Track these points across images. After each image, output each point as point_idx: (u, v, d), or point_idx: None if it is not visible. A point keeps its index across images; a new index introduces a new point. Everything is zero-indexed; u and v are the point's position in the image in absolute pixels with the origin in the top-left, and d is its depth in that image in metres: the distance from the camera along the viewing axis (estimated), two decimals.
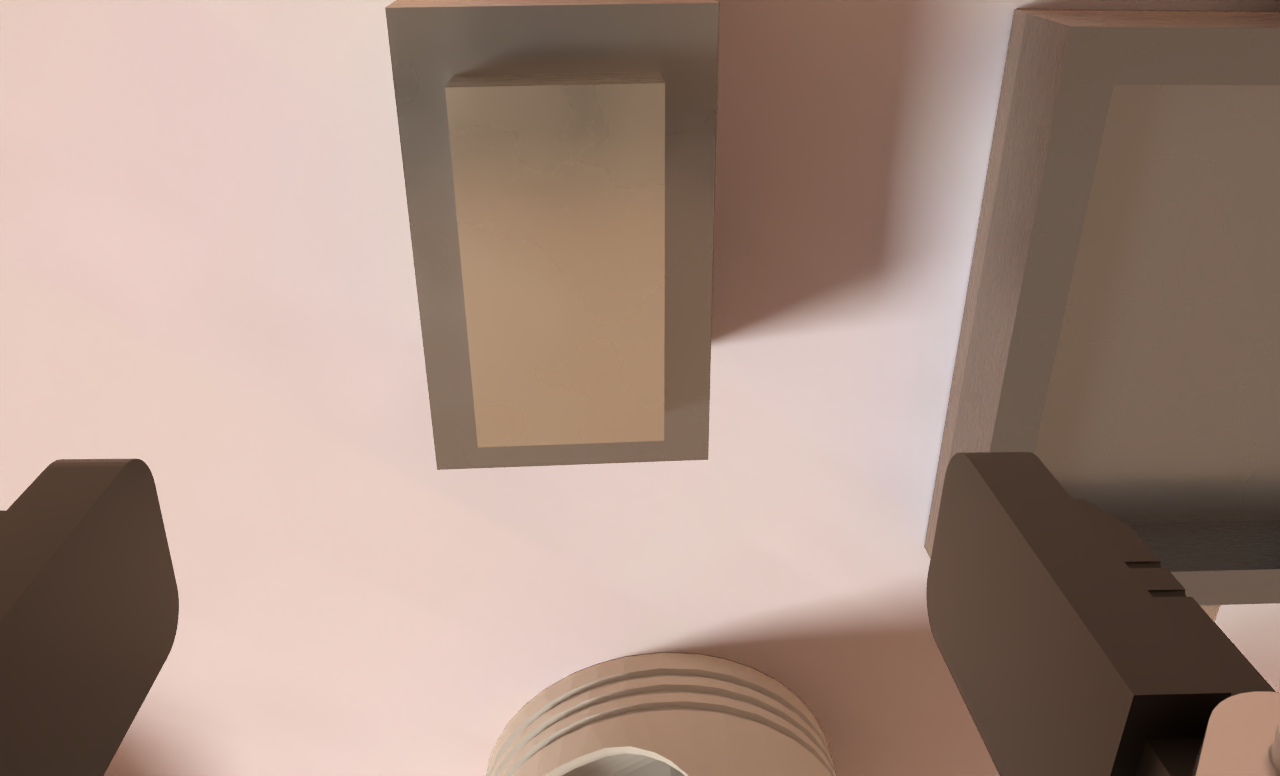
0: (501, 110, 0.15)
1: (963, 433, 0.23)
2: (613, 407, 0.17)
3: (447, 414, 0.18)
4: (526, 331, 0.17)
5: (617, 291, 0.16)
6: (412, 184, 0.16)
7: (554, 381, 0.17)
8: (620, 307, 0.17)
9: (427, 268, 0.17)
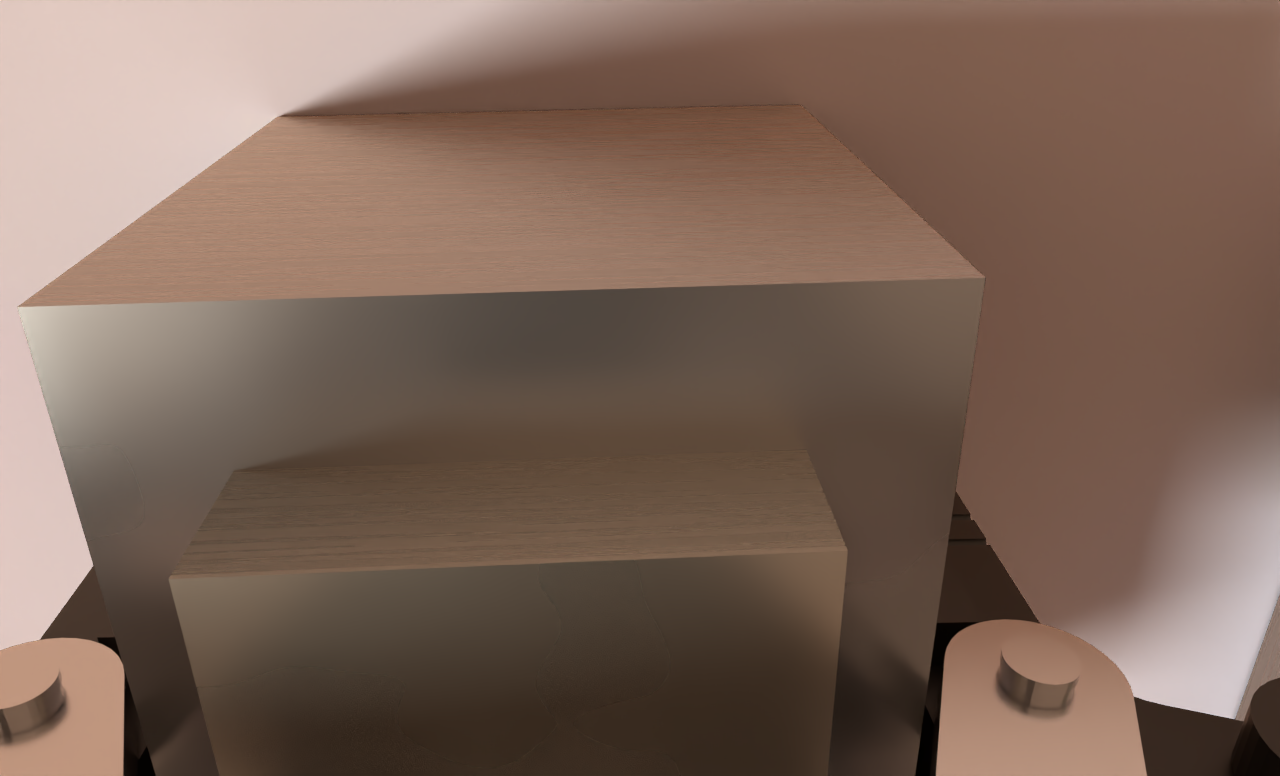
0: (350, 630, 0.05)
1: None
2: None
3: None
4: None
5: None
6: (154, 710, 0.06)
7: None
8: None
9: None
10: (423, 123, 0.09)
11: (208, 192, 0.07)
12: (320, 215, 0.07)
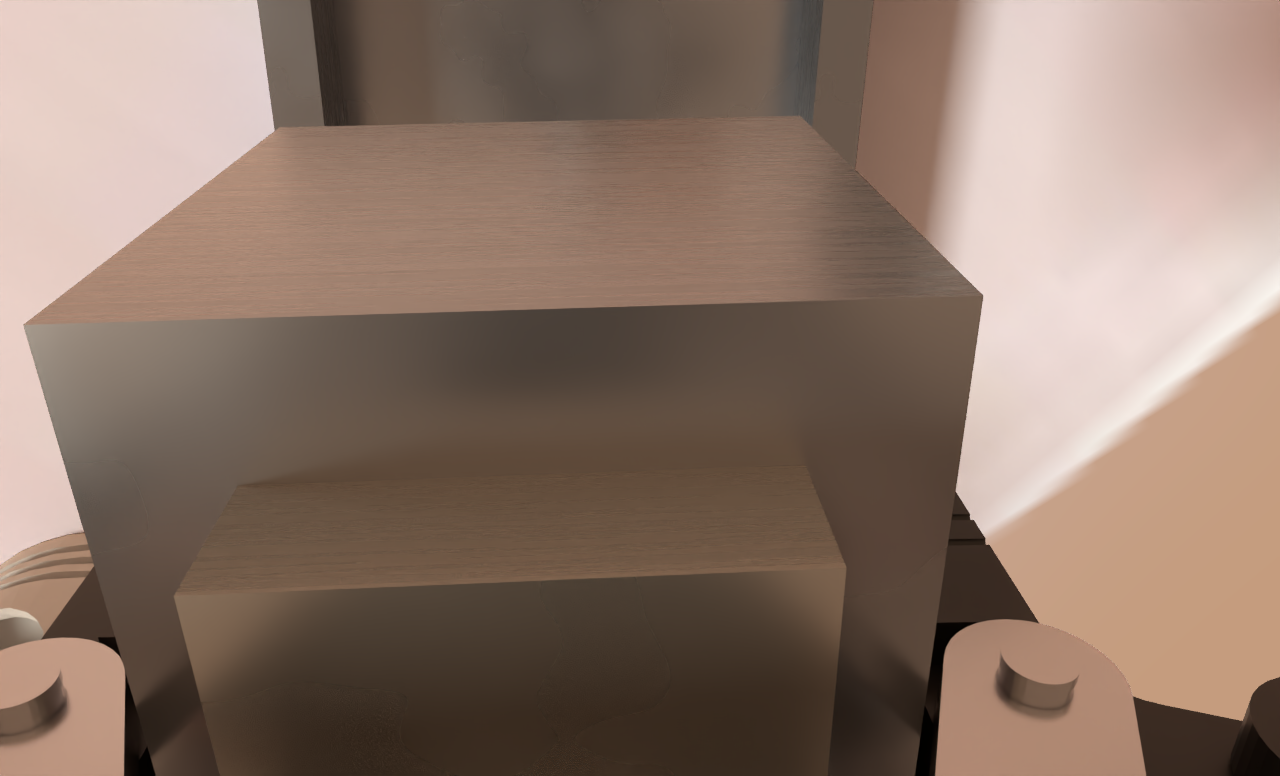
0: (353, 645, 0.05)
1: None
2: None
3: None
4: None
5: None
6: (157, 722, 0.06)
7: None
8: None
9: None
10: (424, 134, 0.09)
11: (211, 206, 0.07)
12: (324, 232, 0.07)
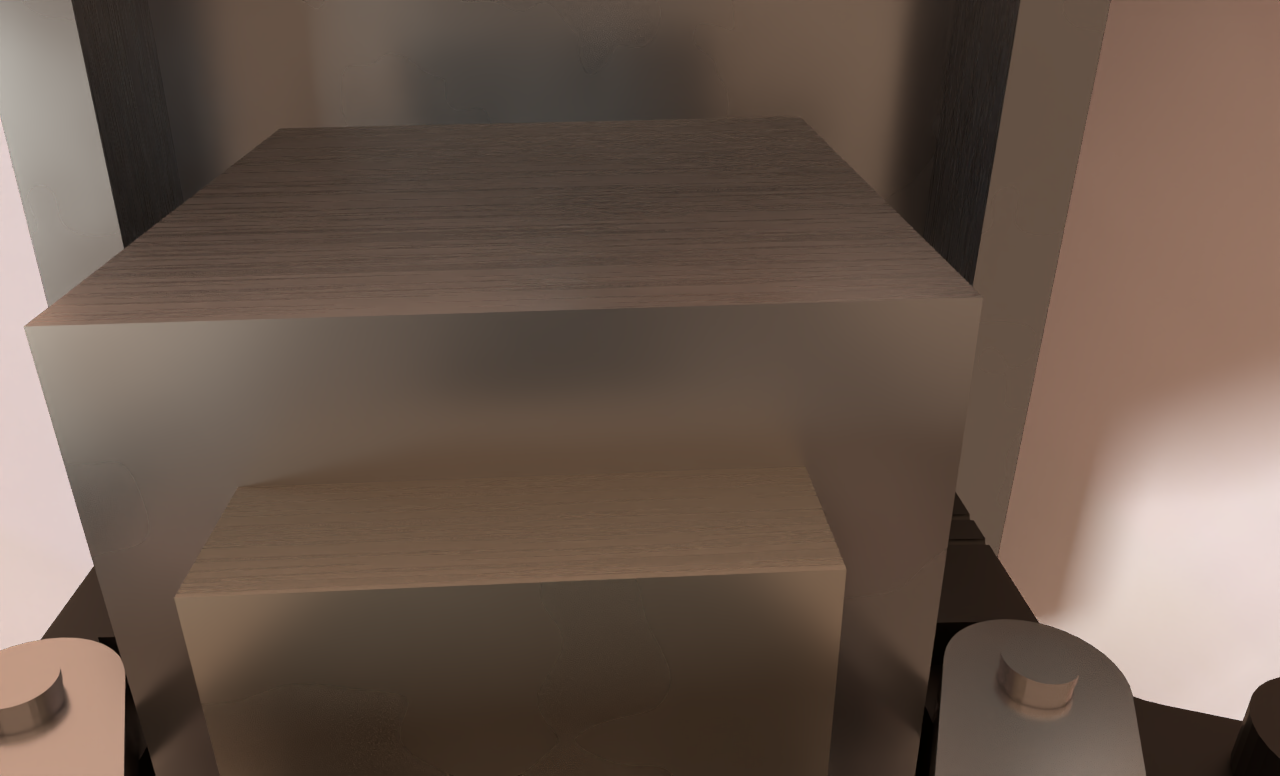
0: (353, 647, 0.05)
1: None
2: None
3: None
4: None
5: None
6: (158, 723, 0.06)
7: None
8: None
9: None
10: (425, 135, 0.09)
11: (212, 207, 0.07)
12: (324, 232, 0.07)
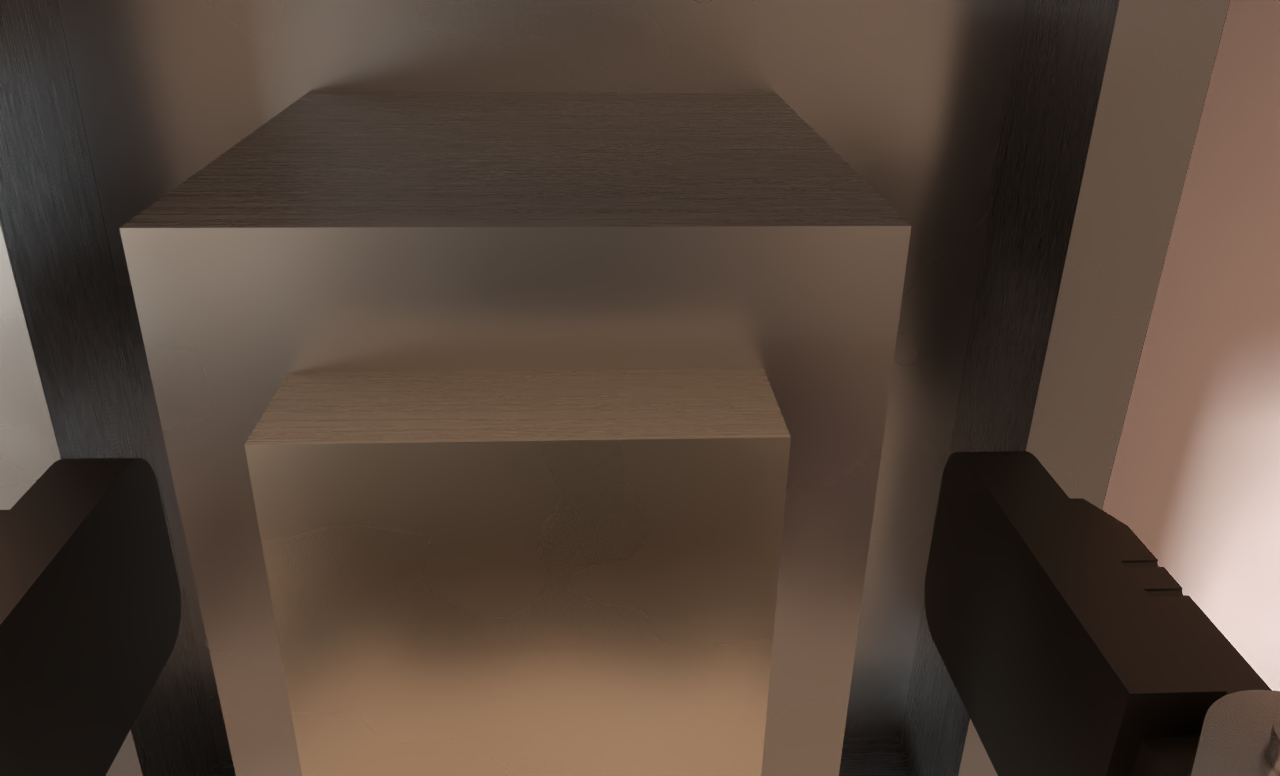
0: (388, 493, 0.06)
1: None
2: None
3: None
4: None
5: None
6: (210, 582, 0.07)
7: None
8: None
9: (252, 727, 0.08)
10: (440, 99, 0.10)
11: (259, 149, 0.08)
12: (359, 170, 0.08)
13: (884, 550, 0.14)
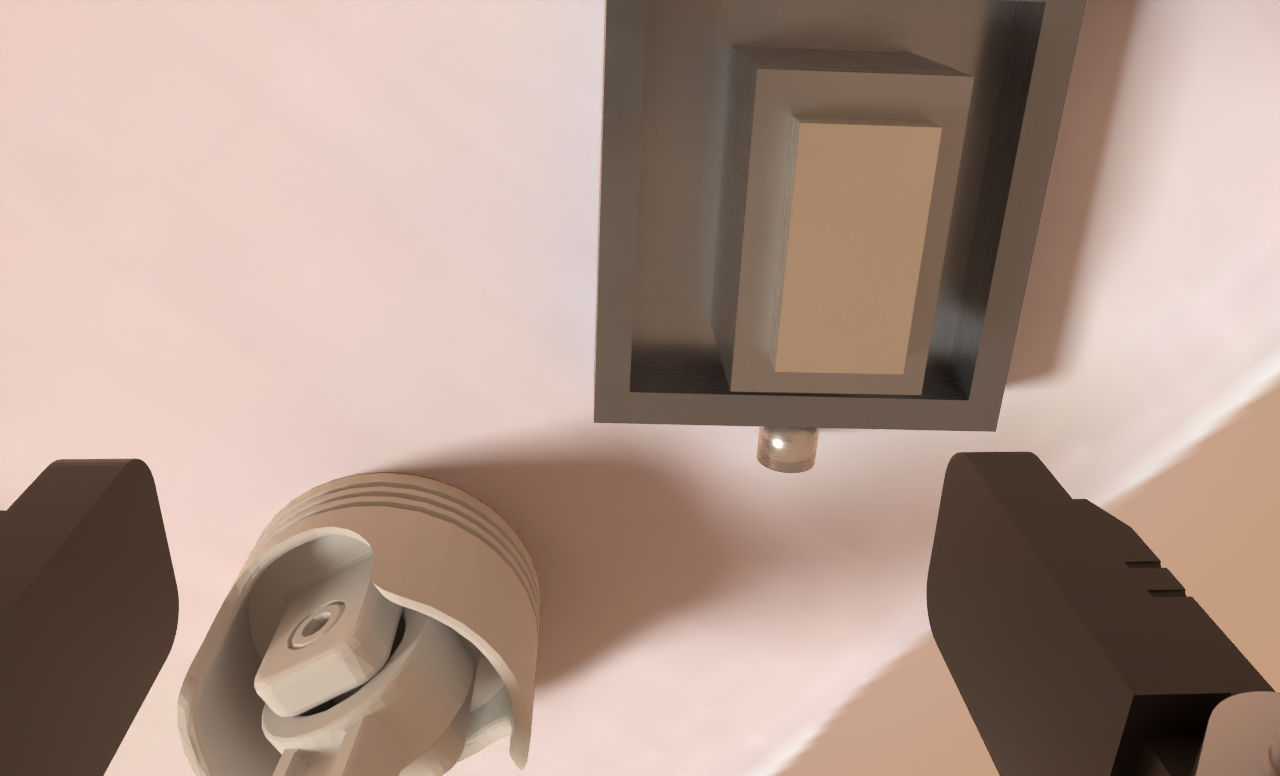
0: (833, 139, 0.23)
1: None
2: (872, 348, 0.25)
3: (744, 351, 0.26)
4: (823, 290, 0.24)
5: (888, 265, 0.24)
6: (752, 186, 0.24)
7: (835, 327, 0.25)
8: (889, 277, 0.24)
9: (751, 245, 0.25)
10: (786, 49, 0.27)
11: (753, 58, 0.25)
12: (797, 62, 0.25)
13: (945, 266, 0.30)
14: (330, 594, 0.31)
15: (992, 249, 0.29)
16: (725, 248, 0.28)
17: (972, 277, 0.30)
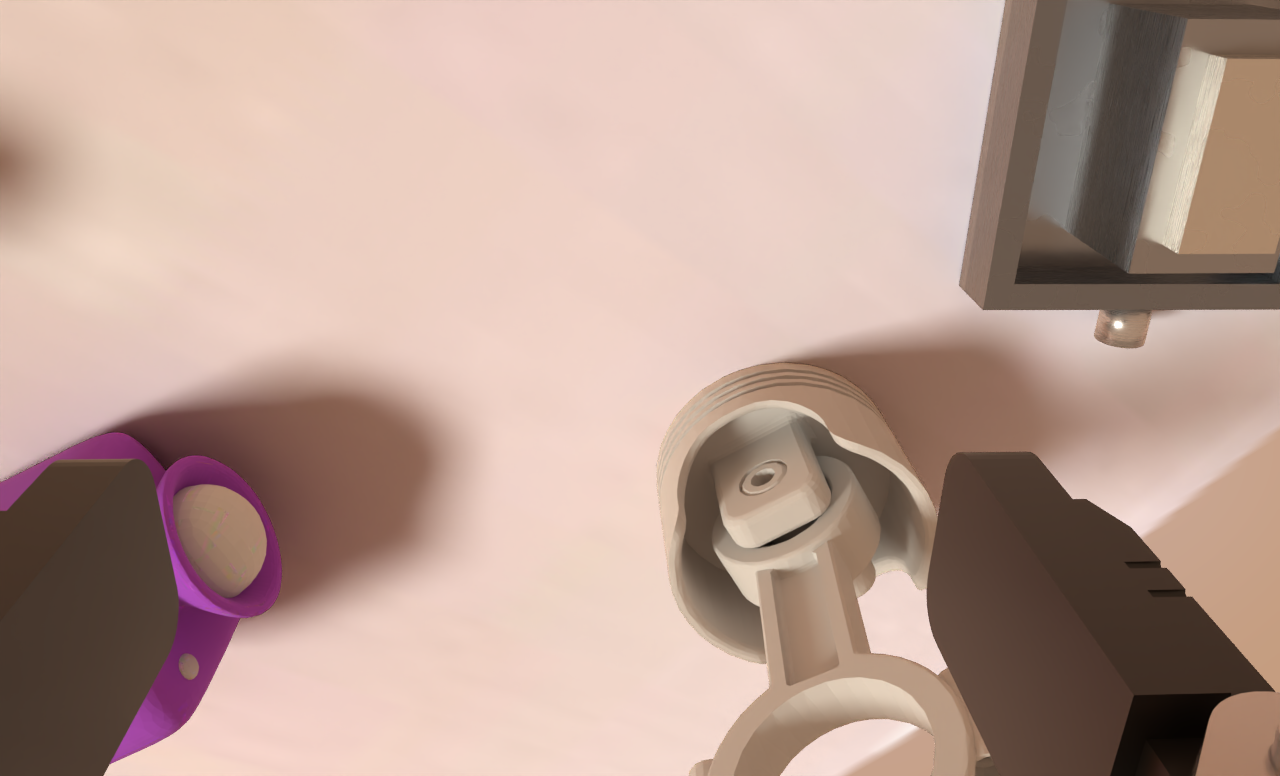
0: (1250, 70, 0.30)
1: (986, 193, 0.37)
2: (1254, 233, 0.33)
3: (1144, 240, 0.33)
4: (1224, 188, 0.32)
5: (1276, 167, 0.32)
6: (1170, 110, 0.32)
7: (1229, 217, 0.32)
8: (1275, 177, 0.32)
9: (1162, 156, 0.32)
10: (1157, 5, 0.35)
11: (1157, 11, 0.33)
12: (1198, 14, 0.32)
13: None
14: (759, 457, 0.39)
15: None
16: (1106, 164, 0.35)
17: None
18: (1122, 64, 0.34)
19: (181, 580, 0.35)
